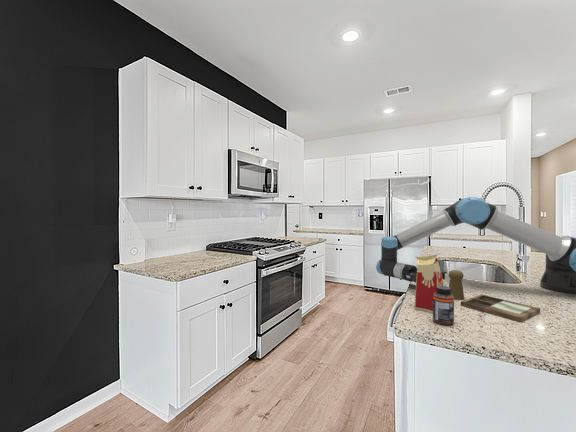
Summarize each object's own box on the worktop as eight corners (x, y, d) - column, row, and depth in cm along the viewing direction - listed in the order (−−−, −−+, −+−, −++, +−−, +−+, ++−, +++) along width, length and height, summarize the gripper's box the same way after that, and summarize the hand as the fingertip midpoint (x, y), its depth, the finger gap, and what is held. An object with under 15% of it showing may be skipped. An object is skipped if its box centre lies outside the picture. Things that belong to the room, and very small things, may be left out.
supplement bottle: (435, 317, 96) (435, 283, 96) (455, 321, 92) (455, 286, 92) (430, 322, 92) (431, 287, 91) (451, 327, 88) (452, 290, 87)
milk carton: (445, 307, 105) (446, 253, 104) (438, 314, 98) (438, 256, 98) (419, 302, 111) (420, 250, 111) (410, 308, 104) (411, 253, 104)
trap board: (481, 298, 116) (481, 294, 116) (540, 312, 100) (540, 307, 100) (460, 305, 107) (460, 301, 107) (521, 322, 91) (521, 317, 91)
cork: (462, 296, 118) (462, 269, 118) (466, 300, 113) (466, 272, 112) (445, 294, 120) (446, 268, 120) (448, 299, 115) (449, 271, 114)
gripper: (422, 276, 142) (467, 286, 124) (388, 284, 129) (433, 296, 111) (422, 261, 142) (467, 269, 124) (388, 267, 128) (434, 277, 110)
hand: (451, 282), depth 117 cm, fingers open, 13 cm apart
